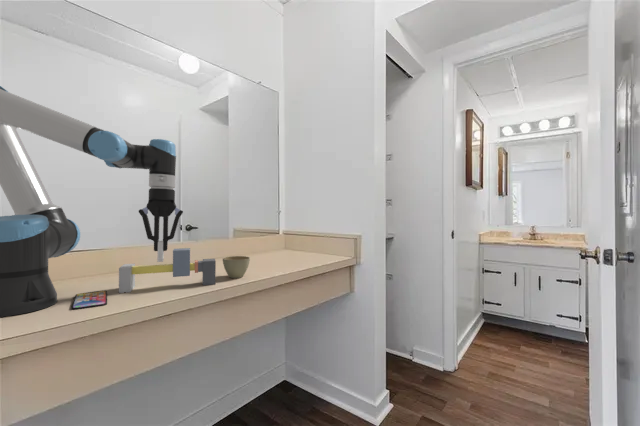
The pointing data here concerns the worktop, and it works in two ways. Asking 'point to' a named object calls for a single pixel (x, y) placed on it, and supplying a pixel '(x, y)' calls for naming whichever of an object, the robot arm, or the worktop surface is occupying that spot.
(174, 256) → the sleeve
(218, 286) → the worktop surface
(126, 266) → the rail
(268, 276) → the worktop surface
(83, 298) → the smartphone
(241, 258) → the flower pot
